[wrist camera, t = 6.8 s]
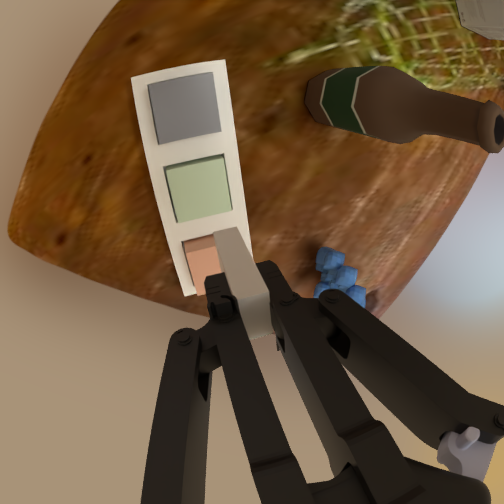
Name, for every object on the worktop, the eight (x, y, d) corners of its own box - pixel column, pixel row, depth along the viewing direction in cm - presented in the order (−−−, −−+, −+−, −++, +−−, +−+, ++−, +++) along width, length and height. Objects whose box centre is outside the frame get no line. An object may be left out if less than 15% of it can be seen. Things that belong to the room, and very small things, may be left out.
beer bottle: (290, 104, 31) (460, 133, 11) (322, 58, 29) (496, 51, 9) (334, 138, 35) (494, 204, 15) (363, 95, 33) (526, 129, 13)
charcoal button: (150, 86, 24) (148, 84, 22) (208, 75, 25) (212, 72, 23) (160, 141, 27) (159, 144, 25) (216, 128, 28) (221, 131, 26)
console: (134, 80, 25) (130, 77, 23) (220, 63, 27) (224, 59, 24) (183, 283, 39) (184, 296, 37) (249, 266, 41) (255, 278, 38)
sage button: (166, 165, 30) (165, 170, 28) (218, 153, 31) (223, 158, 29) (177, 213, 33) (178, 223, 31) (226, 201, 34) (231, 210, 32)
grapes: (283, 245, 41) (322, 296, 31) (324, 222, 41) (372, 265, 31) (307, 298, 47) (341, 349, 37) (341, 277, 47) (381, 323, 37)
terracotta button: (183, 241, 34) (185, 253, 31) (233, 229, 35) (238, 240, 32) (194, 281, 37) (197, 295, 34) (240, 270, 38) (245, 283, 35)
